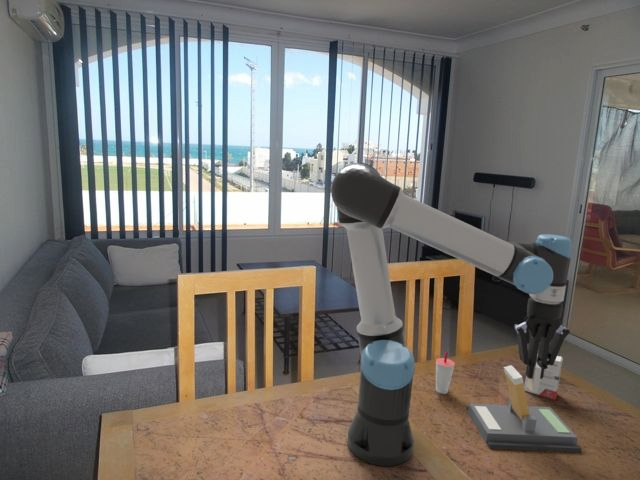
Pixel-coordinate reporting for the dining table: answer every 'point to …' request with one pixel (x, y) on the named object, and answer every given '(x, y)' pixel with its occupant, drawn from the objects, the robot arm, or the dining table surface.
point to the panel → (520, 425)
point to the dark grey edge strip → (534, 446)
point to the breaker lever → (516, 392)
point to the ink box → (549, 380)
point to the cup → (443, 374)
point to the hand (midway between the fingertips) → (532, 389)
